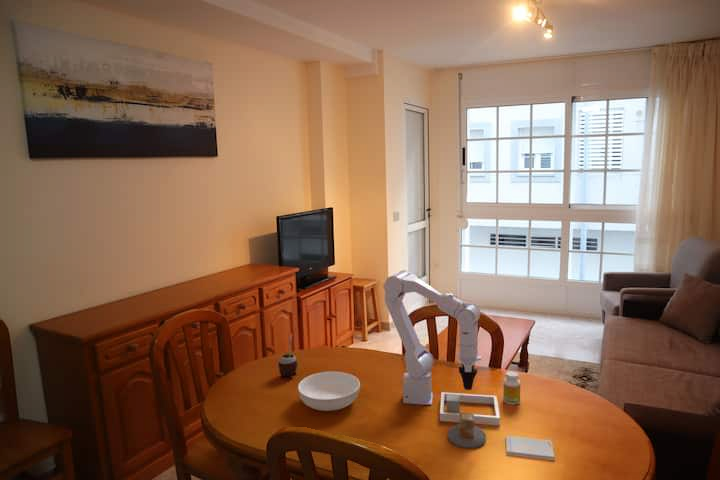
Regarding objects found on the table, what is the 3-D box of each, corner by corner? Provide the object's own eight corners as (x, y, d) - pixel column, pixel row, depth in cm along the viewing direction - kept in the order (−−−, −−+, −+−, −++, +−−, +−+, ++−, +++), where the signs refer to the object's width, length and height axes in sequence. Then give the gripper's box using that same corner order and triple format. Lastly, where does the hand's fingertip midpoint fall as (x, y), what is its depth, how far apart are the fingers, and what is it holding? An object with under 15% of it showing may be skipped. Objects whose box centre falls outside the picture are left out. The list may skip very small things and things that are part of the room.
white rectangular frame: (439, 420, 153) (439, 413, 152) (441, 399, 166) (441, 392, 166) (499, 425, 149) (499, 417, 149) (496, 402, 162) (496, 395, 162)
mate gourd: (283, 382, 182) (281, 343, 179) (275, 374, 189) (273, 337, 186) (301, 377, 186) (299, 339, 183) (293, 369, 192) (291, 333, 190)
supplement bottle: (520, 405, 160) (521, 377, 159) (503, 404, 161) (504, 376, 160) (519, 397, 165) (519, 370, 164) (502, 396, 167) (503, 369, 165)
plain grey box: (446, 416, 155) (446, 400, 154) (446, 410, 159) (446, 394, 158) (459, 417, 154) (459, 401, 153) (459, 411, 158) (459, 395, 157)
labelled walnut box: (459, 437, 142) (459, 419, 141) (459, 430, 145) (459, 412, 144) (473, 438, 141) (473, 420, 140) (473, 431, 145) (473, 413, 144)
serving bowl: (373, 401, 166) (372, 382, 165) (328, 427, 151) (327, 406, 150) (330, 383, 180) (330, 365, 179) (286, 405, 165) (284, 386, 164)
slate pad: (446, 446, 139) (446, 443, 139) (447, 425, 150) (447, 422, 149) (486, 450, 137) (486, 446, 137) (484, 428, 147) (484, 425, 147)
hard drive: (551, 440, 139) (505, 434, 142) (555, 457, 131) (506, 450, 134) (551, 445, 139) (505, 439, 142) (554, 462, 132) (506, 456, 135)
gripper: (482, 353, 146) (481, 395, 149) (480, 335, 160) (480, 374, 163) (457, 351, 148) (457, 393, 150) (458, 334, 162) (458, 373, 164)
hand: (467, 383), depth 156 cm, fingers open, 7 cm apart
